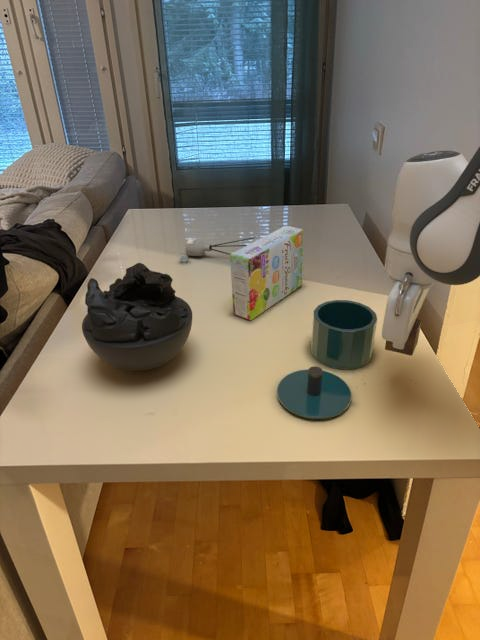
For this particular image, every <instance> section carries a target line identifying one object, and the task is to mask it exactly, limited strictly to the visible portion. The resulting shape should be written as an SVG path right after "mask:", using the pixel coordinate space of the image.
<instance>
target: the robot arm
mask: <svg viewBox="0 0 480 640" xmlns="http://www.w3.org/2000/svg"><path fill="white" fill-rule="evenodd" d="M390 214H391V222H392V223H391V224H392V225H391V231H390V234H389V236H388V238H387V243H386V252H385V259H384V268H383V269H384V273H385V274H386V275H387V276H388V277H390V280H391V281H390V282H391V283H392V284H393V287H392V288H391V290H390V291H389V295H388V297H387V301H386V305H385V310H384V317H383V323H382V327H381V337H382V339H383V340H384V341H386V340H387V341H391V342H393V347H394V348H397V349H404V346H405V344H406V341H407V339H408V336H409V334H410V332H411V330H412V327H413V325H414V323H415V320H416V319H417V318H418V315H419V314H420V311H421V309H422V307H423V304H424V302H425V299H426V297H427V295H428V292H429V291H430V289H431V288H432V287H433V286H434V284H435V283H437V282H439V283H441V284H444V285H449V286H461V285H466V284H469V283H472V282H473V281H475V280H477V279H478V278H479V277H480V146H479V147H478V148H477V149H476V151H475V153H474V155H473V156H472V157H471V159H470V160H469V161H468V160H467V159H466V157H465V156H464V155H463V154H462V153H461V152H459V151H455V150H435V151H430V152H423V153H420V154H417V155H415V156H412V157H410V158H408V159H406V160H405V162H404V163H403V164H402V166H401V168H400V170H399V171H398V175H397V179H396V183H395V188H394V192H393V199H392V204H391V213H390Z"/></svg>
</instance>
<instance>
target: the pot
mask: <svg viewBox="0 0 480 640" xmlns="http://www.w3.org/2000/svg"><path fill="white" fill-rule="evenodd" d="M377 325H378V317H377V313H376V312H375V311H374V310H373V309H372V308H371V307H370V306H368V305H366V304H364V303H361V302H357V301H354V300H349V299H335V300H328V301H325V302H323V303H320V304H318V305H317V306H316V307H315V308H314V309H313V315H312V328H311V331H312V332H311V343H310V345H311V346H310V348H311V350H310V351H311V354H312V356H313V358H314V359H315V360H316V361H317V362H318V363H319V364H322V365H323V366H326V367H328V368H330V369H331V368H332V369H335V370H343V371H344V370H345V371H348V370H355V369H356V370H357V369H359V368H362V367H364V366H366V365H367V364H368V363H369V362H370V360H371V358H372V355H373V351H374V345H375V344H374V343H375V337H376V331H377Z"/></svg>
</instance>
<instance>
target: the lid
mask: <svg viewBox="0 0 480 640" xmlns="http://www.w3.org/2000/svg"><path fill="white" fill-rule="evenodd" d="M276 395H277V398H278V401H279V402H280V404H281V405H282V406H283V407H284V409H286V410H287V411H289V412H290V413H292V414H293V415H296V416H299V417H301V418H305V419H311V420H327V419H331V418H334V417H337V416H339V415H341V414H342V413H344V412H345V411H346V410H347V409H348V408H349V406H350V404H351V401H352V391H351V389H350V386H349V385H348V384H347V382H346V381H344V379H342V378H341V377H339V376H338V375H336V374H334V373H331V372H328V371H326V370H323V368H321V367H320V366H310V367H309V368H308V369H300V370H296V371H293V372H291V373H289V374H287V375H286V376H284V377H283V378H282V379H281V380H280V381H279V383H278V385H277V390H276Z"/></svg>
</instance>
